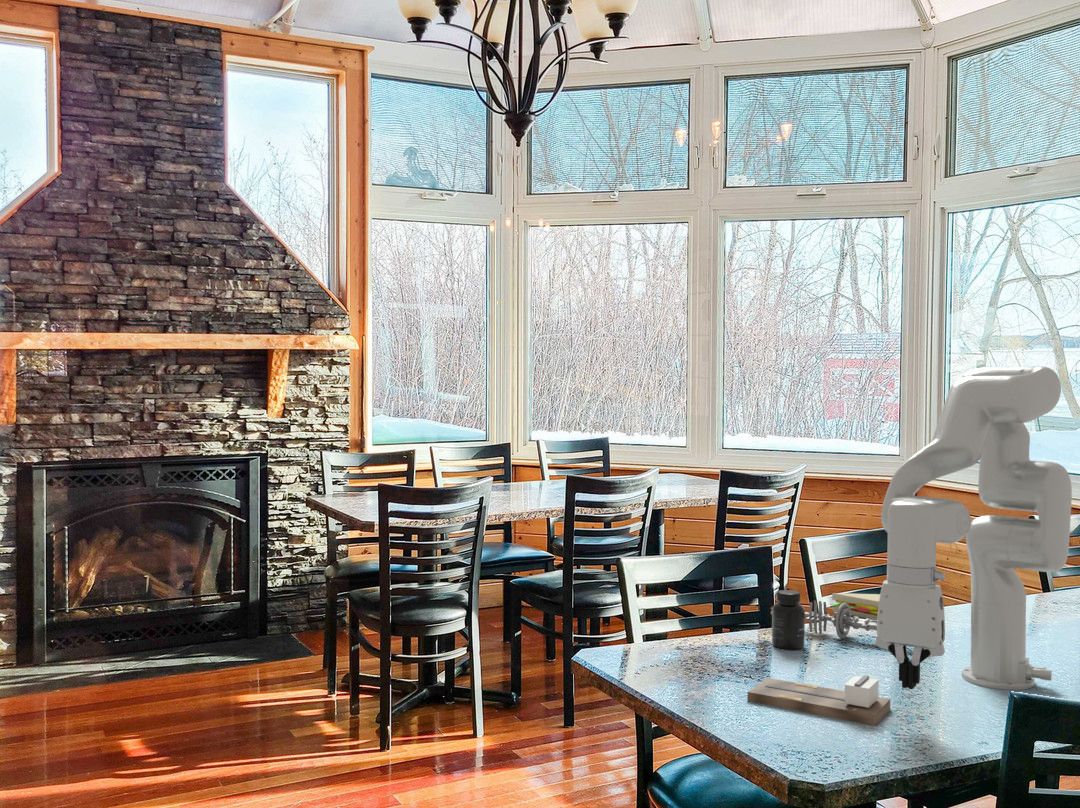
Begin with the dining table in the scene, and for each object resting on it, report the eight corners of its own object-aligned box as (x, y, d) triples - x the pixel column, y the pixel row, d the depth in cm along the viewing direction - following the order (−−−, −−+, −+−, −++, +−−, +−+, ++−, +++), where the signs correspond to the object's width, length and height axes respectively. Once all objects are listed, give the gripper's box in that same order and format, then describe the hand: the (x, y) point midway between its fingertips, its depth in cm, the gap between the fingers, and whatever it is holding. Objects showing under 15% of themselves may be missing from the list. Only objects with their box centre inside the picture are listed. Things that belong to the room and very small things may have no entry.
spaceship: (918, 656, 201) (919, 618, 201) (764, 629, 223) (764, 595, 223) (931, 648, 207) (931, 611, 207) (779, 623, 230) (779, 590, 229)
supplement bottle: (808, 651, 204) (808, 595, 204) (775, 651, 205) (776, 595, 204) (800, 643, 211) (800, 588, 211) (768, 643, 211) (769, 588, 211)
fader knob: (878, 698, 166) (878, 677, 166) (868, 707, 161) (869, 686, 161) (854, 694, 168) (854, 673, 168) (844, 703, 163) (844, 682, 163)
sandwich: (847, 605, 250) (848, 586, 250) (924, 617, 238) (924, 596, 238) (822, 616, 239) (822, 595, 239) (901, 628, 226) (901, 607, 226)
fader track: (890, 710, 167) (890, 698, 167) (874, 727, 159) (874, 714, 159) (767, 688, 179) (767, 677, 179) (747, 703, 171) (747, 691, 171)
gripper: (963, 577, 159) (962, 689, 159) (871, 568, 167) (869, 674, 167) (954, 584, 153) (952, 700, 153) (858, 573, 161) (856, 684, 161)
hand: (909, 686), depth 160 cm, fingers closed
